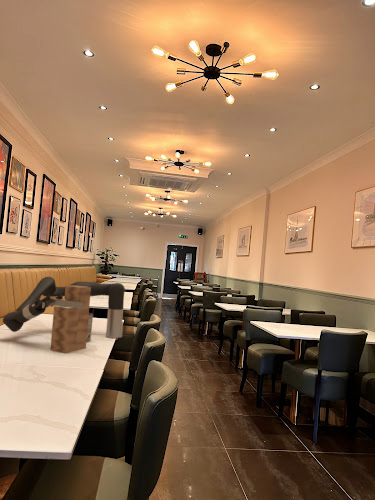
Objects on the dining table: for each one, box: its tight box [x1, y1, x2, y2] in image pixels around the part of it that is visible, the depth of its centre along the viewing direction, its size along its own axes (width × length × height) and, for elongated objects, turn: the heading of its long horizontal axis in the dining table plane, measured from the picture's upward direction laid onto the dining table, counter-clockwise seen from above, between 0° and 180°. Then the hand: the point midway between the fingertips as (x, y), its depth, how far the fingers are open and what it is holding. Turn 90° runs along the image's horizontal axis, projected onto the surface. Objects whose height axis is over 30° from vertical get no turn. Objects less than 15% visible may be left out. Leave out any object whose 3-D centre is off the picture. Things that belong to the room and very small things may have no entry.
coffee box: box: [86, 312, 94, 343], centre depth 205 cm, size 9×6×16 cm
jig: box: [49, 285, 91, 354], centre depth 184 cm, size 10×15×32 cm, turn 157°
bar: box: [46, 297, 83, 309], centre depth 182 cm, size 22×3×3 cm, turn 67°
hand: (55, 297), depth 184 cm, fingers open, 8 cm apart
